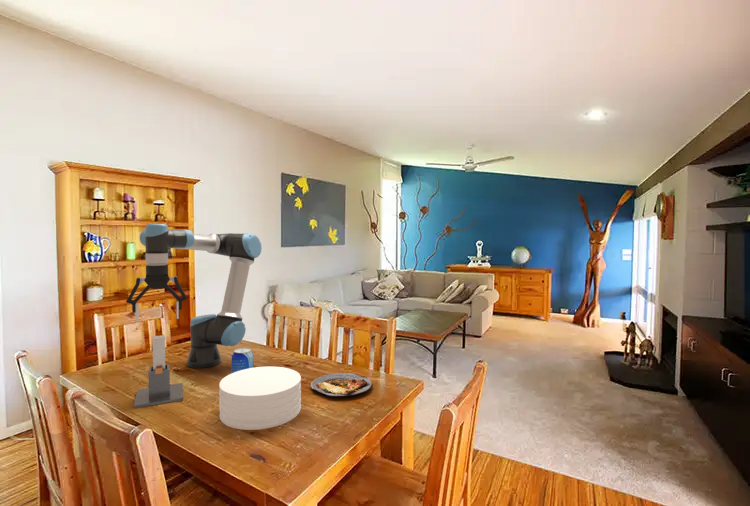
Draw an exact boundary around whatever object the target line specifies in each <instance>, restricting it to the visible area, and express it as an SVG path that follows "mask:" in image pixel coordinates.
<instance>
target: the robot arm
mask: <svg viewBox="0 0 750 506" xmlns="http://www.w3.org/2000/svg"><path fill="white" fill-rule="evenodd" d="M168 227H169V226H168V225H167V224H166V223H148V224H146V225H145V229H144V230H141V232H140V235H139V241H140V243H141V244H142V246H144V247H145V264H146V266H145V277H139V276H138V277H137V278H136V279H135V284H134V286H133V288H132V290H131V291H130V293H129V295H128V297H127V299H126V300H125V301H126V304H131V311H132V312H131V313H132V314H135V322H137V323H138V322H139V319H140V316H139V315H140V314H139V313H140V310H139V308H140V307H139V303H137V302H138V301H140V300H141V298H142V297H143V296H144V295H145V294H146V293H147V292H148V291H149V290H150V289H151V290H156V289H157V290H158V289H160V290H162V289H164V288H165V290H166V291H168V292H169V293H170V294H171V296H173V297H174V298H175V300H177V301H176V303H175V304H176V305H175V306H176V319H177V320H179V318H180V317H179V316H180V314H179V313H180V311H181V310H182V309H183V302H184V301H186V300H187V299H188V297H187V295H186V293H185V291H184V289H183V287H182V286H181V285H180V283H179V280H178V276H176V275H175V276H169V265H168V263H169V249H175V250H176V249H178V250H189V251H191V250H192V251H204V252H207V253H209V254H214V255H220V256H224V257H228V258H229V260H230V262H231V263H230V268H229V274H228V276H227V277H228V278H227V283H226V288H225V292H224V296H223V302H222V307H221V310H220V312H219V313H217V314H214V313H213V314H212V313H211V314H203V315H198V316H195V317H194V316H193V317H192V318H191V320H190V326H189V327H190V328H189V329H190V330H189V331H190V332H189V333H190V350H189V353H188V356H187V360H186V366H187V367H189V368H192V369H205V368H209V367H210V368H211V367H215V366H217V365H219V364H220V363H222V355H221V354H220V351H219V348H218V345H219V346H225V347H233V346H234V347H235V346H237V345H239V344H240V343H241V342H242V340H243V339H244V338H245V334H246V324H245V323H244V322H243V316H242V315H241V310H242V306H243V301H244V297H245V291H246V288H247V287H246V286H247V281H248V276H249V270H250V266H251V265H252V264H254V262H255V259H257V258H259V256H260V255H261V253H262V242H261V241H260V238H259V237H258V236H257V235H256V234H253V233H248V232H247V233H229V232H228V233H210V234H200V233H194V232H193V231H192V230H190V229H185V228H182V229H181V228H178V229H177V228H176V229H175V228H174V229H173V228H172V229H171V228H170V229H169V228H168ZM170 281H171V282H172V283H174V285H175V287H176V288H177V290H178V292H179V293H180V294H179V295H178V293H176V291H175V290H174V289H172V287H170V284H168V283H169V282H170ZM143 282H144V283H146V286H145V287H144V288H143V290H142V291H140V293H139V294H138V295H137V296H136V297H135V298H134V299H133V297H134V296H135V294H136V292H137V290H138V288H139V286H140V285H141V284H143Z"/></svg>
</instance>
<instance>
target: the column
mask: <svg viewBox="0 0 750 506" xmlns="http://www.w3.org/2000/svg"><path fill="white" fill-rule="evenodd" d="M165 339H166V335H165V334H164V335H154V336H152V366H153V371H155V369H157V368H163V370H166V368H165V365H166V340H165Z"/></svg>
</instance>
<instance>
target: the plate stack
mask: <svg viewBox="0 0 750 506" xmlns="http://www.w3.org/2000/svg"><path fill="white" fill-rule="evenodd" d="M218 386H219V387H218V388H219V392H218V393H219V394H218V395H219V400H218V401H219V420H220V421H221V423H222V424H224V425H225V426H227V427H229V428H233V429H237V430H245V431H246V430H247V431H254V430H255V431H256V430H257V431H258V430H265V429H271V428H274V427H279V426H281V425H284V424H286V423H289V422H290V421H292V420H293V419H295V418H296V417H297V416H298V415H299V413H300V412H301V409H302V376H301V375H300V373H299V372H298V371H296V370H294V369H292V368H289V367H282V366H273V365H272V366H270V365H269V366H256V367H253V368H249V369H244V370H240V371H237V372H234V373H232V372H231V373H229V374H228V375H226V376H225V377H223V378H222V379H221V380H220V381H219V384H218Z"/></svg>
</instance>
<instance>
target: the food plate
mask: <svg viewBox="0 0 750 506" xmlns="http://www.w3.org/2000/svg"><path fill="white" fill-rule="evenodd" d="M337 379H349V380H352V381H351V382H350V381H349V382H350V383H349V382H348V384H347V383H346V382H347V381H345V380H337ZM331 380H332V381H331ZM356 380H357V381H358V380H359V381H361V382H360V383H359V382H357V381H356ZM329 381H331V382H332V383H333V384H332V383H331V382H329ZM326 382H329V383H326ZM334 384H336V385H339V386H347V387H346V388H348V389H346V388H342V387H339V386H335V385H334ZM310 387H311V389H312V390H314V391H317V392H318V393H321V394H324V395H326V396H329V397H350V396H357V395H359V394H362V393H364V392H368V391H369V390H370V389H371V387H373V382H372V381H371V380H370V379H369V378H368V377H364V376H362V375H360V374H355V373H350V372H348V373H347V372H339V373H338V372H336V373H330V374H328V373H327V374H324V375H321V376H320V377H319V376H318V377H317V378H315V379H314V380H313V381H311V383H310ZM358 389H360V390H359V391H355V390H358Z"/></svg>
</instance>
